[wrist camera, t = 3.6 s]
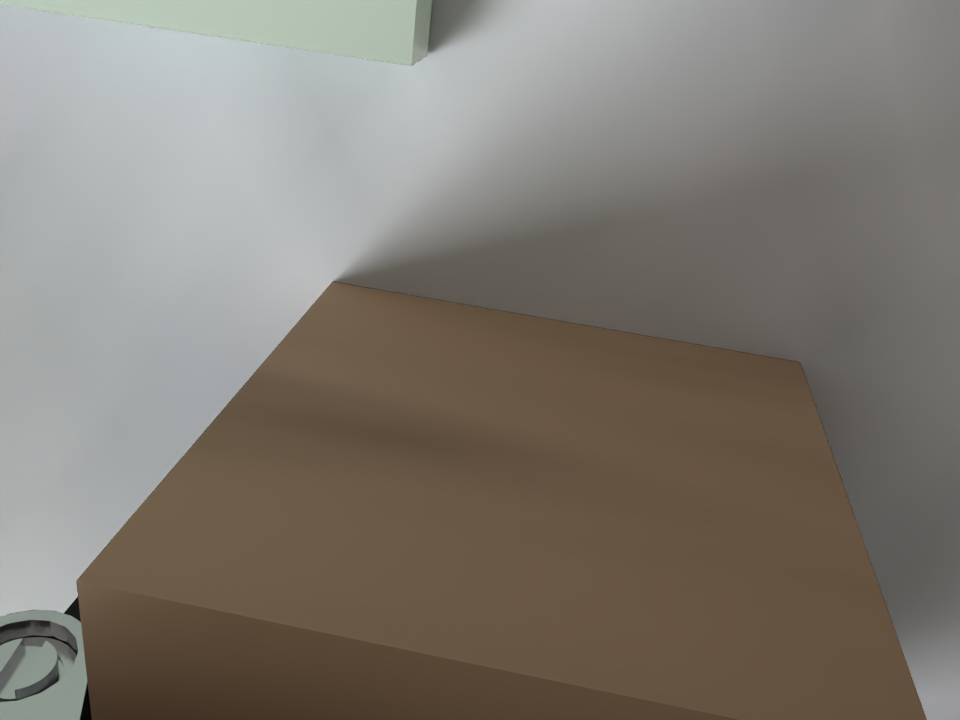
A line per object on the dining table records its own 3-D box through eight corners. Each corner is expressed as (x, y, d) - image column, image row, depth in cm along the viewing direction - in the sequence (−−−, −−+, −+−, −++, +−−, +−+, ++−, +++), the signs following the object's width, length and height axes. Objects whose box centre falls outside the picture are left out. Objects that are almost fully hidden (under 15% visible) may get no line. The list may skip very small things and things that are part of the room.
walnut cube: (693, 707, 14) (724, 1194, 9) (316, 628, 14) (127, 1040, 9) (800, 362, 11) (942, 762, 6) (333, 282, 12) (76, 580, 6)
